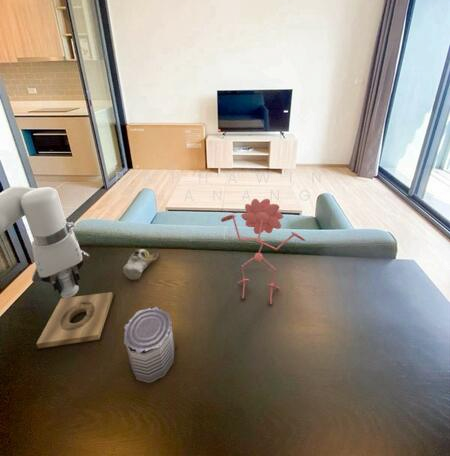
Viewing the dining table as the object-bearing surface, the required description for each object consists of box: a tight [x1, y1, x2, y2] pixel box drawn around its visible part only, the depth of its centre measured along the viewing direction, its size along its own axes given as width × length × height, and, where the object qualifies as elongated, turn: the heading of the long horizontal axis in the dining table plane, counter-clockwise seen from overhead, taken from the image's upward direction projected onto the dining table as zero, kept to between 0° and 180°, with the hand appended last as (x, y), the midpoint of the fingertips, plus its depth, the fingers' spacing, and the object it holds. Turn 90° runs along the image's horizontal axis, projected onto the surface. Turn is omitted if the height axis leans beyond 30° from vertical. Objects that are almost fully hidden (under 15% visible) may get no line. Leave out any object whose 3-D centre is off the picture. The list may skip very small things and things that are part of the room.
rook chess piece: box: [57, 268, 80, 298], centre depth 69 cm, size 4×4×8 cm
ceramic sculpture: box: [122, 248, 161, 281], centre depth 92 cm, size 11×9×15 cm
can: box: [123, 306, 175, 384], centre depth 63 cm, size 11×11×12 cm
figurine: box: [220, 198, 306, 305], centre depth 80 cm, size 15×26×35 cm, turn 77°
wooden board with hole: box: [35, 291, 114, 350], centre depth 75 cm, size 16×14×2 cm
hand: (68, 285), depth 70 cm, fingers closed on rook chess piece, 3 cm apart
